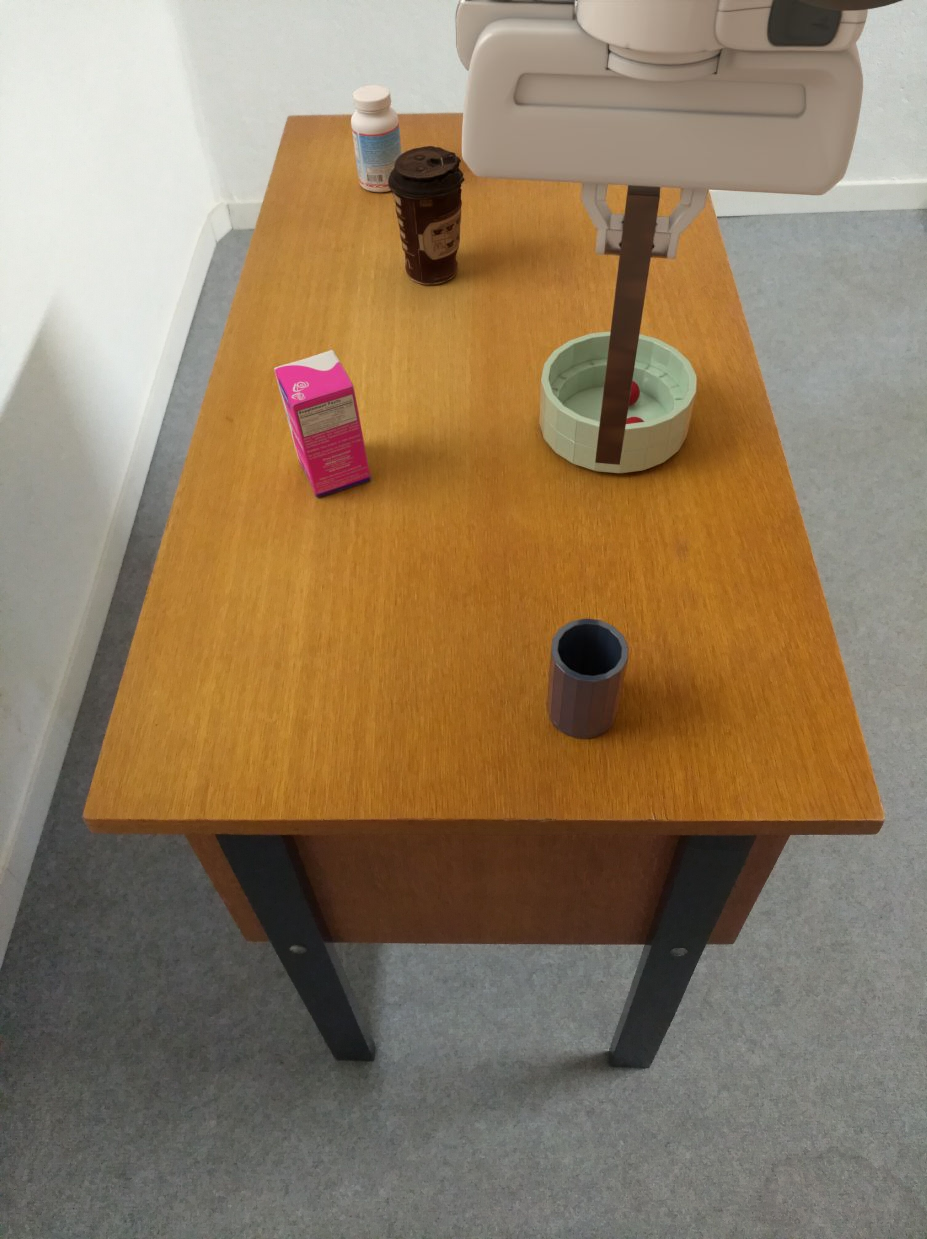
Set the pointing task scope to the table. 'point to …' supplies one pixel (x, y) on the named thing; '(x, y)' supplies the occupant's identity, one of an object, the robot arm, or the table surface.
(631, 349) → the stirring stick
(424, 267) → the coffee cup
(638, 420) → the berry
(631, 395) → the berry
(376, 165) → the pill bottle
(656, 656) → the table surface
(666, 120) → the robot arm
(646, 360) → the bowl
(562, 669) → the stick holder
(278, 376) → the supplement box
